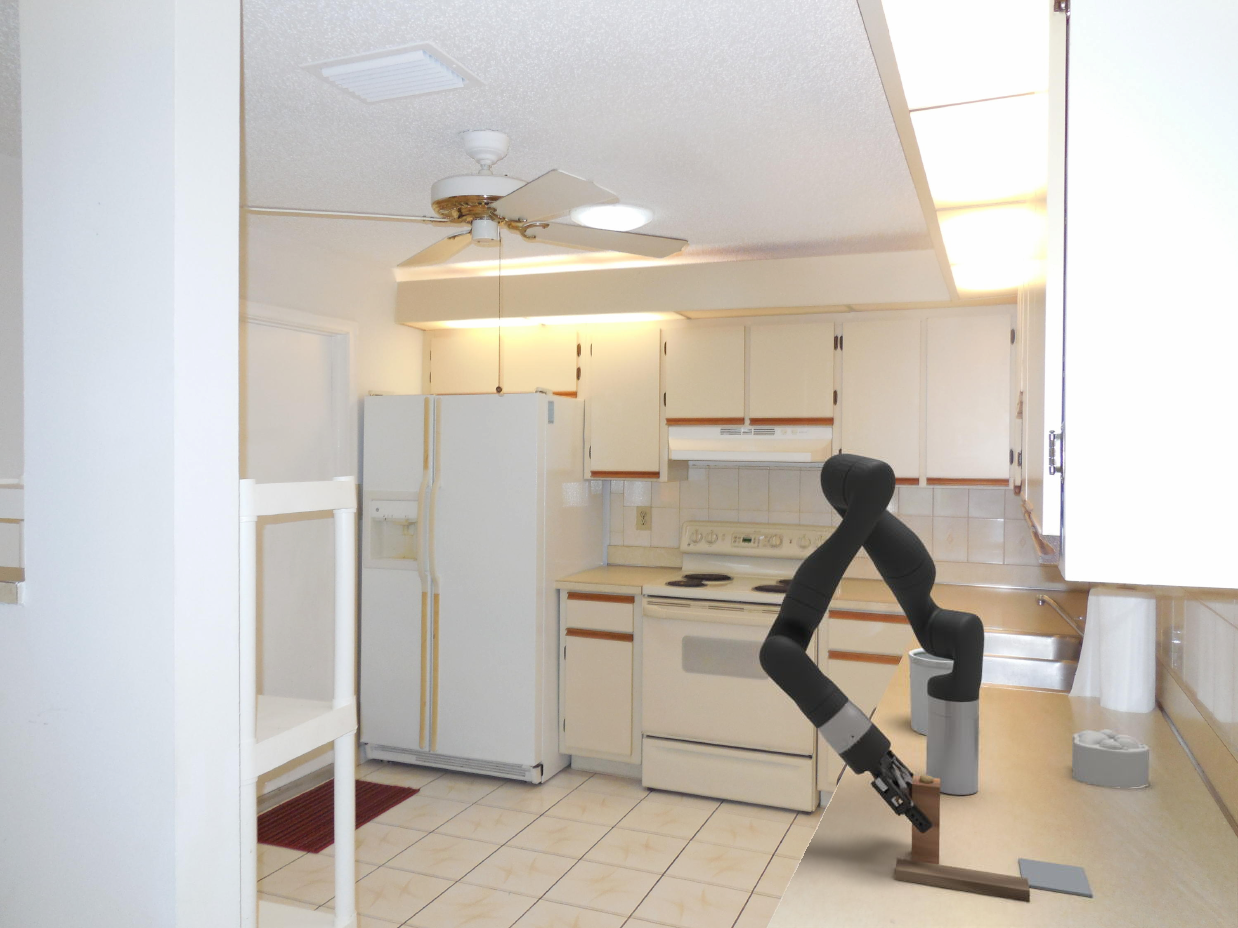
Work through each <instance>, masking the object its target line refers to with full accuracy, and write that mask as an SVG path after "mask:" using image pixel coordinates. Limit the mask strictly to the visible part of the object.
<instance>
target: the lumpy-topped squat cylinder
mask: <svg viewBox="0 0 1238 928" xmlns="http://www.w3.org/2000/svg"><path fill="white" fill-rule="evenodd" d="M1071 750H1072V754H1071V755H1072V761H1071V762H1072V763H1071V765H1072V768H1071V771H1072V774H1073V775H1072V777H1073V778H1072V779H1074V780H1075V781H1077V782H1080V783H1083V784H1086V783H1089V784H1088V785H1091V784H1093V786H1097V785H1102V786H1101V787H1103V786H1109V787H1108V788H1110V787H1120V788H1131V787H1140V786H1143V785H1147V784H1148V783H1149V784H1150V781H1149V780H1150V748H1149V747H1148V746H1147V745H1146V744H1144V743H1143V742H1140V741H1138V740H1137V739H1135V738H1134V737H1133V736H1130V735H1129V734H1118V733H1116V732H1115V731H1114V730H1112V729H1109V728H1108V729H1107V728H1105V729H1104V728H1103V729H1101V730H1099V731H1095V730H1090V729H1087V730H1082V731H1080V732H1075V733H1074V734H1072V749H1071Z"/></svg>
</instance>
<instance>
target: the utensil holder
mask: <svg viewBox="0 0 1238 928" xmlns="http://www.w3.org/2000/svg"><path fill="white" fill-rule="evenodd" d="M908 661H909V689H910V693H909V695H910V697H909V698H910V723H911V725H910V726H911V729H912V728H913V729H914V730H915V731H914V730H913V729H912V730H913V731H914V732H916V731H917V732H918V734H920V733H922V734H924V735H923V736H926V735H927V683H928V680H929V679H930V678H931V677H933V676H937V675H943V674H948V673H950V672H952V669H953V662H954V660H950V659H945V658H939V657H935V656H932V655H930V654H928V653H927V652H925V651H924V650H923V648H922V647H921V648H914V649H912V650H910V651H909V652H908ZM917 732H916V733H917ZM922 734H921V735H922Z"/></svg>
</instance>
